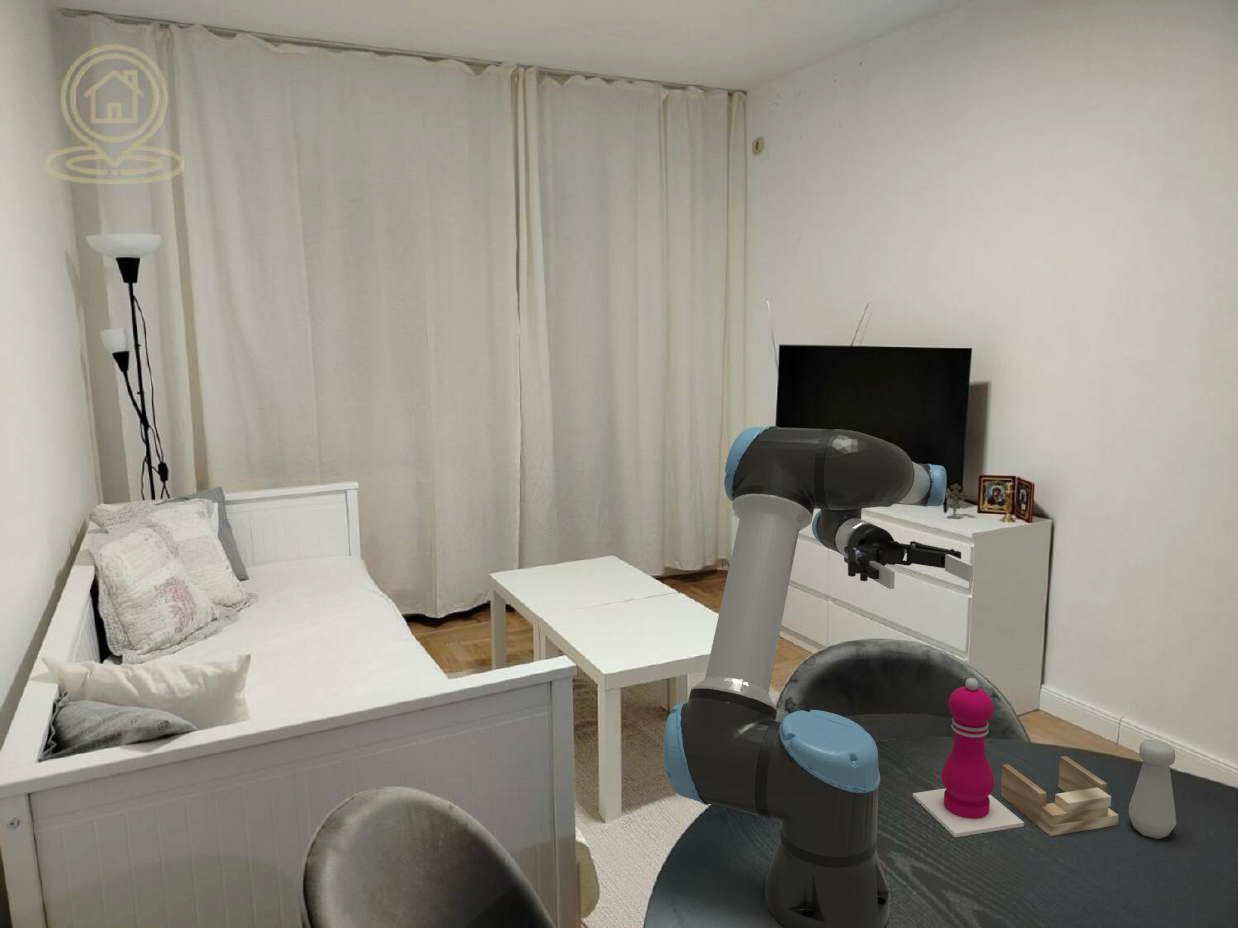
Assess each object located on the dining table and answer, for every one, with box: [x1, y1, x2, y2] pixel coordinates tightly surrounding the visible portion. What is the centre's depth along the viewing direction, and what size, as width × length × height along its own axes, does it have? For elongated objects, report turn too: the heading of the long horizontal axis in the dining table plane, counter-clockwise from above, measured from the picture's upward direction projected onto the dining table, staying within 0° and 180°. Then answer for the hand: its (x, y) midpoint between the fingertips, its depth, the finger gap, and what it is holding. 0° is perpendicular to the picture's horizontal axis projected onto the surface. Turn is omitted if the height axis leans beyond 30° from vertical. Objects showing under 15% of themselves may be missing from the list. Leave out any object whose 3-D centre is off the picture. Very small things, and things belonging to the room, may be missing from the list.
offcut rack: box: [1000, 755, 1120, 837], centre depth 130 cm, size 11×11×5 cm
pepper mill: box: [941, 677, 995, 818], centre depth 128 cm, size 7×7×20 cm
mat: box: [912, 787, 1025, 838], centre depth 130 cm, size 11×11×1 cm
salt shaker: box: [1128, 739, 1177, 840], centre depth 123 cm, size 6×6×13 cm
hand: (932, 576), depth 137 cm, fingers open, 13 cm apart
